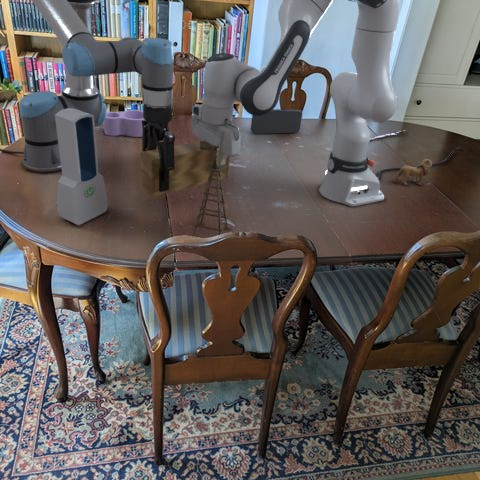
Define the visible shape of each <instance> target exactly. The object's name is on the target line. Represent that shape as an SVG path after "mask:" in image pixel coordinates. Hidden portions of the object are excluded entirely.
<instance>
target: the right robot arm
mask: <svg viewBox="0 0 480 480" xmlns="http://www.w3.org/2000/svg"><path fill="white" fill-rule="evenodd" d="M334 1H335V0H282V1H281V3H280V6H279V9H278V11H277V18H278V23H279V27H280V38H279V42H278V45H277V46H276V48H275V50H274V51H273V53H272V55H271V57H270V58H269V60H268V62H267V64H266V65H265V67H264V69H263V70H262V71H260V70H259V69H258V68H256V67H254V66H251V65H248V64H246V63H245V62H243V61H241V60H240V59H238V58H237V57H236V56H235V55H234V54H231V53H229V52H228V53H227V52H226V53H225V52H222V53H221V52H220V53H215V54H213V55H210V56H209V57H208V58H207V59H206V61H205V66H204V73H203V81H202V89H203V98H202V102H201V104H196V105H192V106H191V113H192V115H191V131H192V134H193V136H195V137H196V138H197V139H199V140H200V141H204V140H205V141H207V142H208V143H210V144H212V145H213V146H218V144H219V146H220V145H221V142H223V141H224V142H223V143H222V144H224V143H225V144H224V145H221V147H222V146H223V147H225V148H224V149H223V152H224V153H223V154H222V156H223V158H222V159H221V161H222V162H221V163H220V165H224V164H225V162H226V158H227V157H228V156H229V157H230V158H232V157H236V156H237V157H238V156H239V155H240V154H241V151H242V136H241V131H240V129H239V127H238V124H237V123H235V122H233V117H234V104H235V103H236V102H237V103H238V102H240V103H241V105H242V107H243V109H244V111H245V112H247V113H248V114H249V115H251V116H252V115H254V116H262V115H265V114H268V113H269V112H271V111H272V110H273V109H275V108H276V106H277V104H278V102H279V99H280V97H281V92H282V89H283V87H284V84H285V83H286V81H287V80H288V78H289V76H290V75H291V73H292V71H293V69H294V67H295V66H296V64H297V63H298V60H299V59H300V58H301V56H302V54H303V52H304V50H305V49H306V47H307V45H308V43H309V40H310V39H311V35H312V34H313V32H314V30H315V29H316V27H317V25H318V24H319V22H320V21H321V19H322V18H323V17H324V15H325V13H326V12H327V10H328V9H329V7H330V6H331V5H332V3H333V2H334ZM348 1H349V2H353V3H354V2H355V3H357V8H358V9H357V10H358V15H357V18H356V19H357V20H356V25H355V30H354V36H353V41H352V46H351V59H352V61H353V64H354V66H355V71H356V72H351V71H343V72H341V73H338V74H337V75H336V76H335V77H334V78H333V80H332V81H331V82H330V87H329V94H330V96H331V99H332V102H333V106H334V113H335V134H334V140H333V145H332V150H331V151H330V153H329V157H328V161H327V170H325V173H324V175H325V176H324V178H323V181H322V183H321V185H320V187H319V188H318V191H319V193H320V195H321V196H323V198H326V199H327V200H330V201H332V202H336V203H340V204H343V205H346V206H349V207H357V206H363V205H368V204H373V203H378V202H382V201H384V200H385V195H384V193H383V191H382V190H380V186H381V183H380V178H381V174H382V173H384V172H389V171H390V172H391V171H399V170H400V169H401V168H402V167H403V166H400V167H399V166H398V167H389V168H383V169H381V170H379V171H378V173H377V175H375V173H374V172H373V170H372V169H370V168H373V167H374V166H375V165H376V162H375V161H374V160H373V159H369V157H368V156H367V153H368V149H369V146H370V142H371V141H370V138H372V137H371V132H370V129H369V127H368V123H367V122H372V123H377V124H383V123H385V122H388V121H389V120H390V119H392V117H393V116H394V115H395V113H396V111H397V110H398V109H397V108H398V105H399V104H398V103H399V98H398V96H397V94H396V92H395V90H394V87H393V84H392V78H391V56H392V49H393V44H394V39H395V34H396V29H397V24H398V17H399V10H400V0H348ZM220 133H221V136H222V135H223V134H224V135H225V136H223V137H222V139H223V138H224V139H223V141H222V140H221V137H220ZM219 140H220V142H219ZM223 147H222V148H223ZM459 148H462V147H461V146H458V147H456V149H459ZM459 150H460V151H463V148H462V149H459ZM453 151H454V150H453ZM453 151H451V152H450V153H449V155H448V156H447V157H446V158H445V159H442V160H440V161H437V162H434V163H433V162H432V167H433V166H438V165H441V164H443V163H445V162H447V161H448V160H449V159H451V157H452V156H453V154H455V153H456V152H457V151H454V152H453ZM220 152H221V150H220ZM452 152H453V153H452ZM451 153H452V154H451ZM450 154H451V156H450ZM449 156H450V157H449ZM448 157H449V158H448ZM447 158H448V159H447ZM409 166H410V167H418V166H419V165H409ZM369 167H370V168H369Z"/></svg>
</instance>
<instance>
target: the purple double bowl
mask: <svg viewBox="0 0 480 480" xmlns="http://www.w3.org/2000/svg"><path fill="white" fill-rule="evenodd" d="M142 120H145V119H144V118H143V109H141V110H140V109H128V110H124V111H106V116H105V120H104V122H103V123H102V124H103V131H104V135H107V136H112V137H114V136H127V137H133V138H140V137H141V138H142V137H143V128H142Z"/></svg>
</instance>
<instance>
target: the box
mask: <svg viewBox="0 0 480 480" xmlns="http://www.w3.org/2000/svg"><path fill="white" fill-rule="evenodd" d="M200 141H201V142H205V143H208V142H207V141H205V140H204V141H202V140H199V141H193V142H187V143H182V144H176V145H174V162H175V169H174V170H170V171H169V190H167V191H162V192H160V191H159V169H161V165H160V158H159V152H158V148H157V149H155V150H150V151H144V152H142V151H140V163H141V164H140V165H141V166H140V167H141V169H140V171H141V173H140V174H141V189H142V190H144V191H145V192H146V193H147V194H148V195H149V196H151V198H152V197H156V196H162V195H164V194H170V193H173V192H177V191H181V190H185V189H189V188H193V187H198V186H201V185H206V184H207V183H208V180H209V179H208V177H209V175H210V172H211V170H206V168H207V167H208V166H209V163H213V162H214V156H215V154H216V150H214V149H213V148H214V146H213V145H212V144H210V143H208V144H210V145H212V149H211V150H200ZM217 152H218V151H217ZM230 158H231V157H229V156H228V157H227V158H226V162H225V164H224V166H227V167H226V169H225V171H224V172H220V174H221V175H222V176H221V181H222V180H226V179H228V178H229V168H230ZM211 168H212V167H211ZM213 173H214V174H216V172H213ZM218 174H219V173H218ZM212 178H213V179H217V178H216V175H212ZM218 179H219V176H218ZM213 182H215V181H214V180H211V183H213Z"/></svg>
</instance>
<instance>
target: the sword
mask: <svg viewBox="0 0 480 480" xmlns="http://www.w3.org/2000/svg"><path fill="white" fill-rule="evenodd" d="M399 132H400V131H393V132H390V133H387V134H382V135H377V136H374V137H370V142H372V141H373V140H377V139H382V138H387V137H391V136H392V137H393V136H398V135H401V134H402V133H399ZM406 133H408V132H404V133H403V134H406Z"/></svg>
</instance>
